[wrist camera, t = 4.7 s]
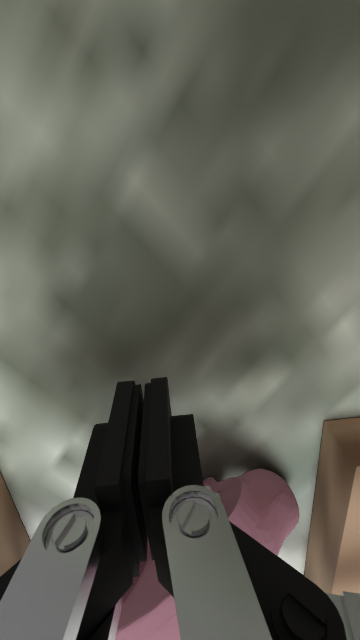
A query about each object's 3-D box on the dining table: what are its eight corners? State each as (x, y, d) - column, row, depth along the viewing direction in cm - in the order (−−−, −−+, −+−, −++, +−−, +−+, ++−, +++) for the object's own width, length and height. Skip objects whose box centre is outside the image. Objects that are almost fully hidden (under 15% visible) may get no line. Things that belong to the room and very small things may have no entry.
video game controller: (241, 419, 16) (222, 509, 9) (305, 491, 15) (338, 647, 8) (117, 519, 18) (29, 649, 11) (168, 584, 17) (107, 764, 11)
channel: (-52, 461, 14) (-96, 516, 11) (366, 416, 14) (407, 460, 12) (33, 625, 19) (16, 685, 17) (332, 590, 19) (355, 643, 17)
